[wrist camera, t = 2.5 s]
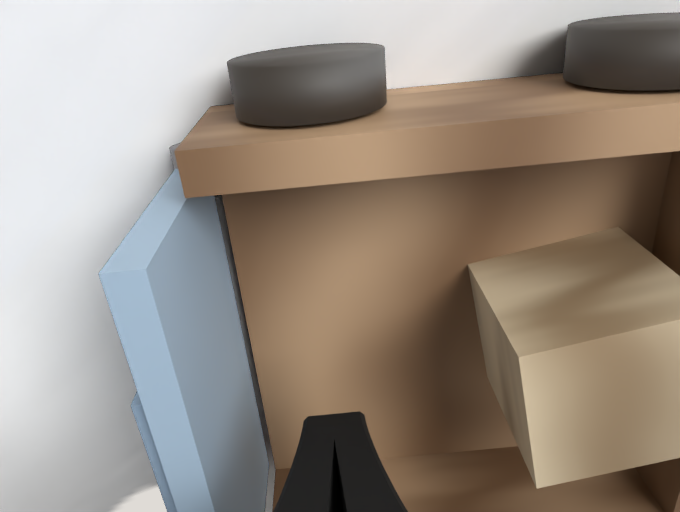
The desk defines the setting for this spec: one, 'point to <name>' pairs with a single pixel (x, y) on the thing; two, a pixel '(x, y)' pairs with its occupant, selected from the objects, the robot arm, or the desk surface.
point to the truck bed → (432, 240)
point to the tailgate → (188, 355)
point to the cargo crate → (583, 353)
